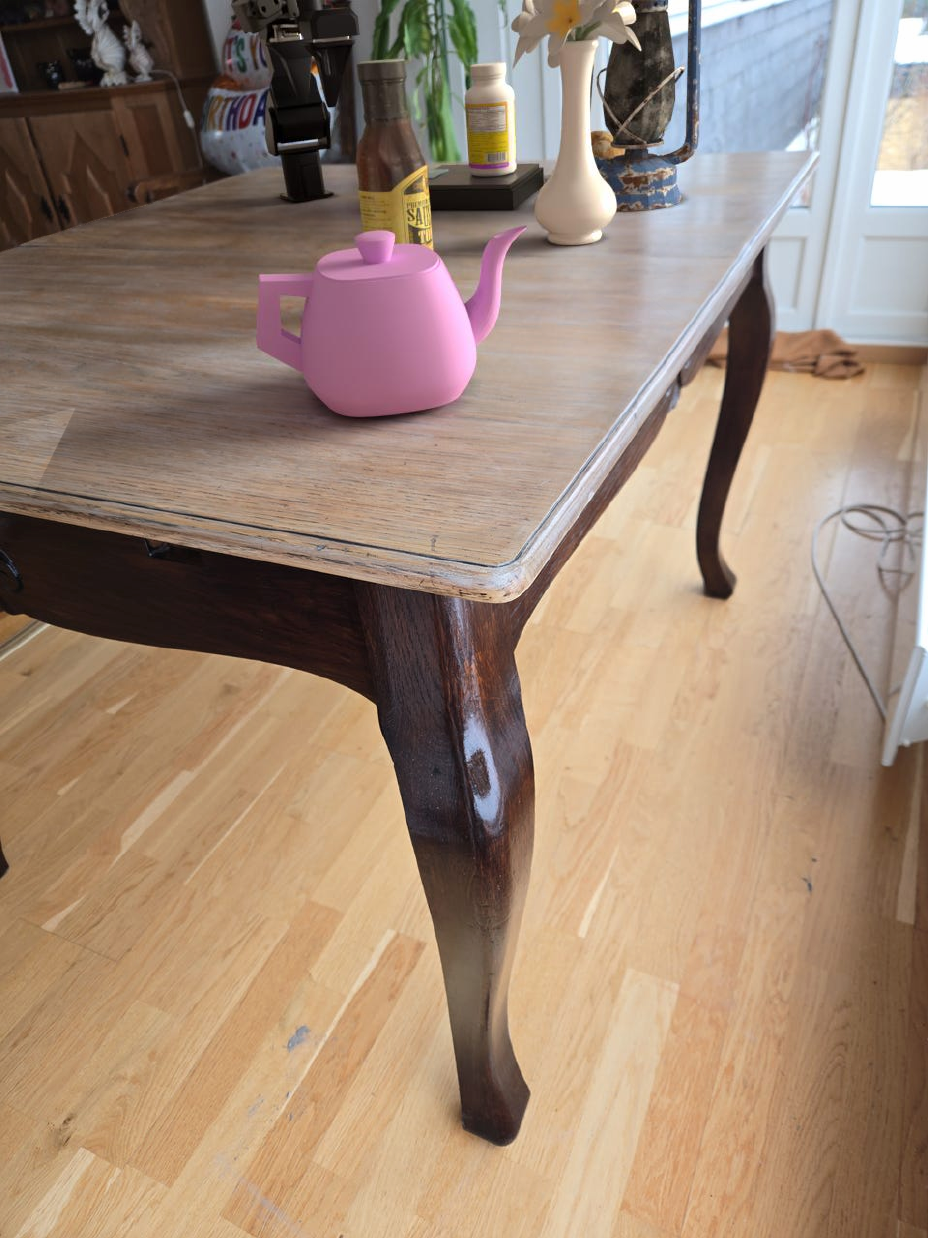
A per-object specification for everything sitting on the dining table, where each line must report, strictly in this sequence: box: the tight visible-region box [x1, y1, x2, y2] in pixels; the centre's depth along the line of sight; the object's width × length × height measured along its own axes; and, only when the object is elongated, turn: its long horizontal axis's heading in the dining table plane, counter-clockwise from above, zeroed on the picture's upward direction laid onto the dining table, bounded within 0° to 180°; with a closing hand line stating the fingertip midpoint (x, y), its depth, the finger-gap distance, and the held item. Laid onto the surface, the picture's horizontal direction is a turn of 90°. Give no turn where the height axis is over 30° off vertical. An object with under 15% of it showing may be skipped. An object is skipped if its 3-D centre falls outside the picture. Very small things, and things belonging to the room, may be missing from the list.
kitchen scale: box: [427, 163, 545, 211], centre depth 121 cm, size 16×16×3 cm
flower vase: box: [510, 0, 641, 246], centre depth 92 cm, size 13×18×25 cm
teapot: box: [255, 225, 528, 418], centre depth 62 cm, size 13×20×11 cm
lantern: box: [590, 0, 702, 212], centre depth 105 cm, size 15×12×30 cm
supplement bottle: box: [464, 61, 517, 177], centre depth 116 cm, size 7×7×13 cm
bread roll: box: [591, 130, 626, 159], centre depth 126 cm, size 10×10×8 cm
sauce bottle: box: [355, 58, 434, 251], centre depth 76 cm, size 7×6×20 cm
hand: (317, 104), depth 112 cm, fingers open, 9 cm apart
